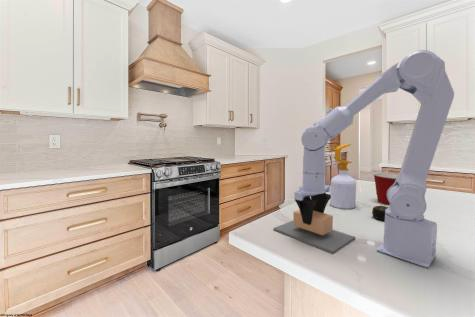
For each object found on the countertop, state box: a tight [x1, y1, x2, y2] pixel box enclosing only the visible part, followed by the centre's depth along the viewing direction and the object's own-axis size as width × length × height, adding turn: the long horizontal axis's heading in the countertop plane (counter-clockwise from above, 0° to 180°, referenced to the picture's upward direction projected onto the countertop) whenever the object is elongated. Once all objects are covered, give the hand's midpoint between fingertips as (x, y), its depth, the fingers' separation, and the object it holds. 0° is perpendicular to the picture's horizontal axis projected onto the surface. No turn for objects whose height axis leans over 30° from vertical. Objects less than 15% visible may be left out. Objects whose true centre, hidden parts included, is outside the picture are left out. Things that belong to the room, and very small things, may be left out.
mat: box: [272, 220, 356, 255], centre depth 62 cm, size 18×12×1 cm, turn 40°
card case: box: [292, 208, 334, 235], centre depth 62 cm, size 5×9×4 cm, turn 40°
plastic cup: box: [372, 172, 398, 206], centre depth 92 cm, size 11×11×12 cm
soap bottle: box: [329, 143, 357, 210], centre depth 88 cm, size 9×9×25 cm
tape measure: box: [371, 205, 389, 221], centre depth 74 cm, size 7×7×4 cm
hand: (312, 221), depth 62 cm, fingers closed on card case, 5 cm apart
